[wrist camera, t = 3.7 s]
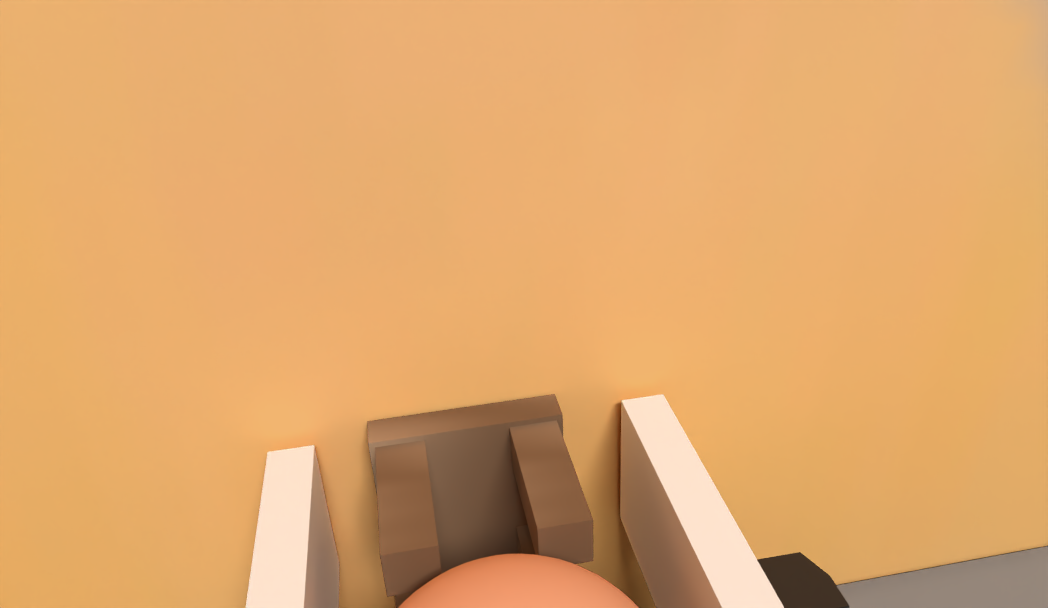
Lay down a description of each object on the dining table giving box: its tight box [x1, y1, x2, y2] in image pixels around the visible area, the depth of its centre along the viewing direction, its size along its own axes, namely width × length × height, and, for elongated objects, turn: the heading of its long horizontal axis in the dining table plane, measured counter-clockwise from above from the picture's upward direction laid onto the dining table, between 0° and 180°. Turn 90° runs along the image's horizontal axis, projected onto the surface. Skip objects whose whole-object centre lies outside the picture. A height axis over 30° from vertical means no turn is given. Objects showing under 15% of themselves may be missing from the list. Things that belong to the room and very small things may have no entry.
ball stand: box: [367, 394, 593, 608], centre depth 14 cm, size 3×3×3 cm
